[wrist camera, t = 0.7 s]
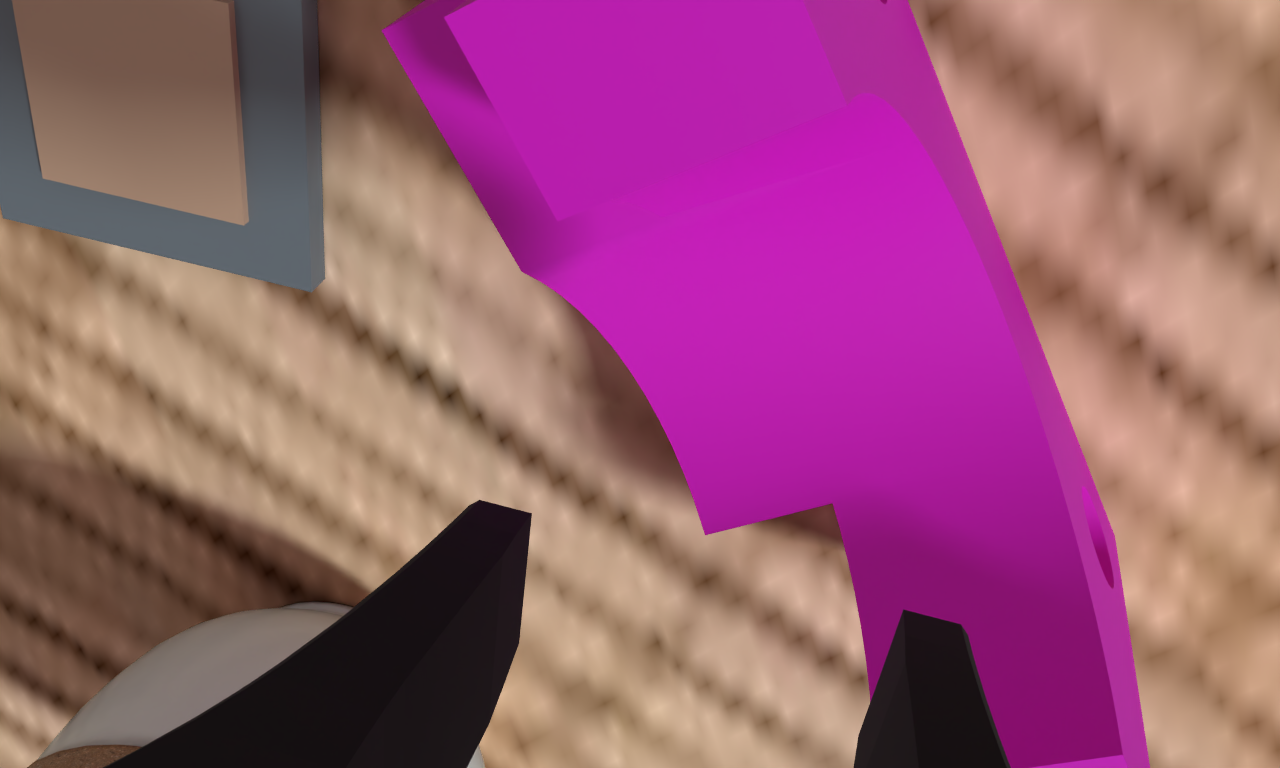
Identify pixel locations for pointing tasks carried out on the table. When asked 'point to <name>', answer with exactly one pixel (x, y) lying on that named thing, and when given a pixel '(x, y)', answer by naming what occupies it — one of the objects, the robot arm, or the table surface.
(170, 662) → the lidded jar
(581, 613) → the table surface
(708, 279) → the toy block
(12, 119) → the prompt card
